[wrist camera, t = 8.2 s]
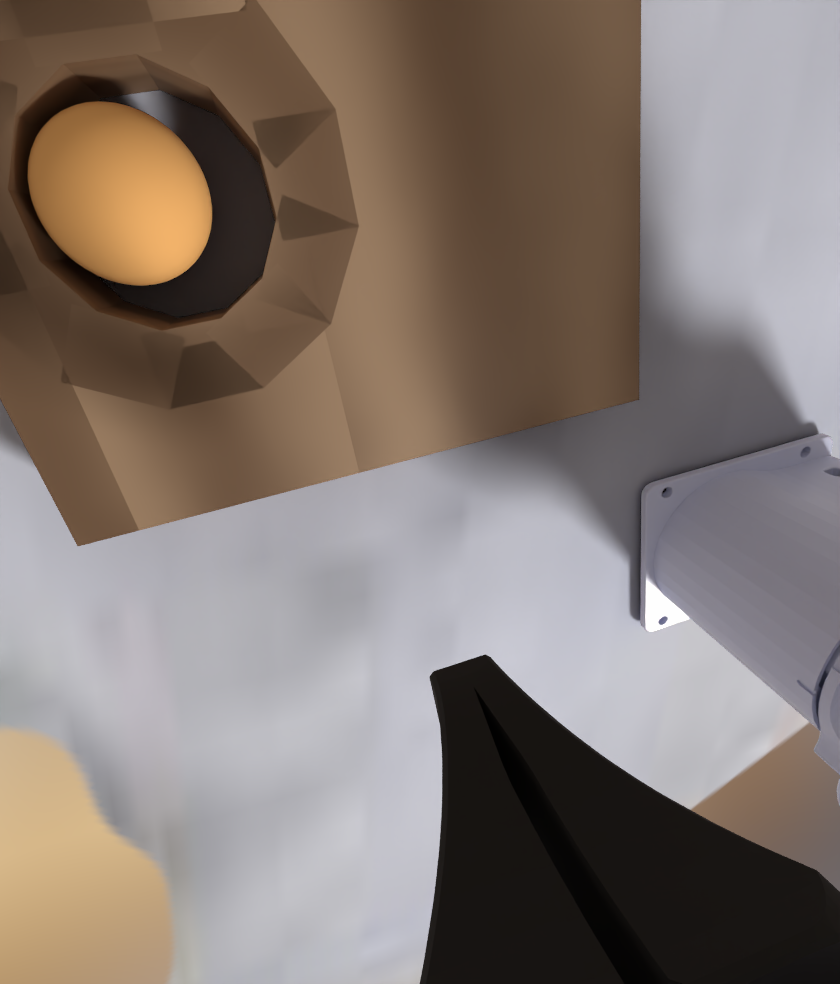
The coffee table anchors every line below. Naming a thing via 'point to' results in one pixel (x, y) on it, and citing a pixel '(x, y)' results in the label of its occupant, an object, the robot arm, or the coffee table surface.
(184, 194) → the ball
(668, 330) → the coffee table surface
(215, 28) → the board
